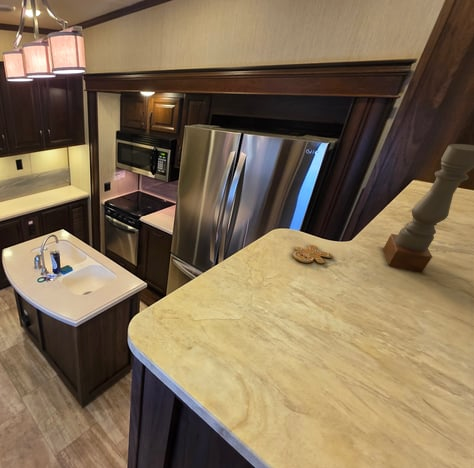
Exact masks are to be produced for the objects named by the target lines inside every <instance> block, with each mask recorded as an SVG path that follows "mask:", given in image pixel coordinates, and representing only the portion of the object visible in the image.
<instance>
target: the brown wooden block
mask: <svg viewBox="0 0 474 468" xmlns="http://www.w3.org/2000/svg"><path fill="white" fill-rule="evenodd" d="M397 236H398V234H396V233H395V234H394V233H391V234H390V235H389V237H388V239H387V240H386V243H385V245H384V246H383V252H384V255H385V258H386V262H387V265H388V267H389V266H390V267H395V268H399V269H403V270H406V271H413V272H416V273H420V274H421V273H423V272H424V270H425V269H426V268H427V266H428V264H429V263H430V261H431V260H432V259H433V255H432V253H431V251H430V250H429V248H428V249H427V250H425V251H415V250H410V249H407V248H404V247H402V246H400V245H398V244H397V243H396V242H395V239H396V237H397Z"/></svg>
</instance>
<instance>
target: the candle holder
mask: <svg viewBox="0 0 474 468" xmlns="http://www.w3.org/2000/svg"><path fill="white" fill-rule="evenodd" d="M440 160H441V161H440V165H441V168H440V169H439V170H437V171H435V173H434V176H435V180H434V182H433V184H432V185H431V187H430V189H429V190H428V191H427V192H426V193H425V195H423V196H422V197H421V199H420V200H419V201H418V202H417V203H416V204H414V206H413V207H412V209H411V221H409V222H406V223H405V224H404V227H403V228H400V230H399V232H398V234H397V235H398V236H397V237H396V239H395V242H396V243H397V244H398V245H400V246H402V247H404V248H407V249H410V250H415V251H425V250H427V249H429V247H430V246H431V244H432V243H433V241H434V239H435V234H437V230H436V228H435V226H438V224H440V223H441V222H442V221H445V220H446V219H447V218H448V217H449V214H450V210H451V205H452V202H453V201H452V200H453V197H454V194H455V192H456V191H457V189H458V187H459V186H460V184H461V183H463V182H464V181H467V180H468V179H469V175H468V174H467V173H468V172H470V171H471V170H473V169H474V145H473V144H464V143H453V144H448V146H447V148H446V149H445V151H444V153H443V155H442V156H441V158H440Z"/></svg>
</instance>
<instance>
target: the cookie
mask: <svg viewBox="0 0 474 468" xmlns="http://www.w3.org/2000/svg"><path fill="white" fill-rule="evenodd" d="M292 257H293V258H294V259H295V260H297V261H299V262H300V263H304V264H311V263H313V262H314V261H315V262H316V263H318V264H325V263H326V261H325V259H324V258H328V259H332V258H333V257H334V256H333V255H332V254H331V253H329V252H328V251H327V252H326V251H322V250H320V249H319V248H318V247H317V246H316V245H313V244H308V249H307V248H305V247H300V246H297V247H296V248H295V252H294V253H292Z"/></svg>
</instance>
